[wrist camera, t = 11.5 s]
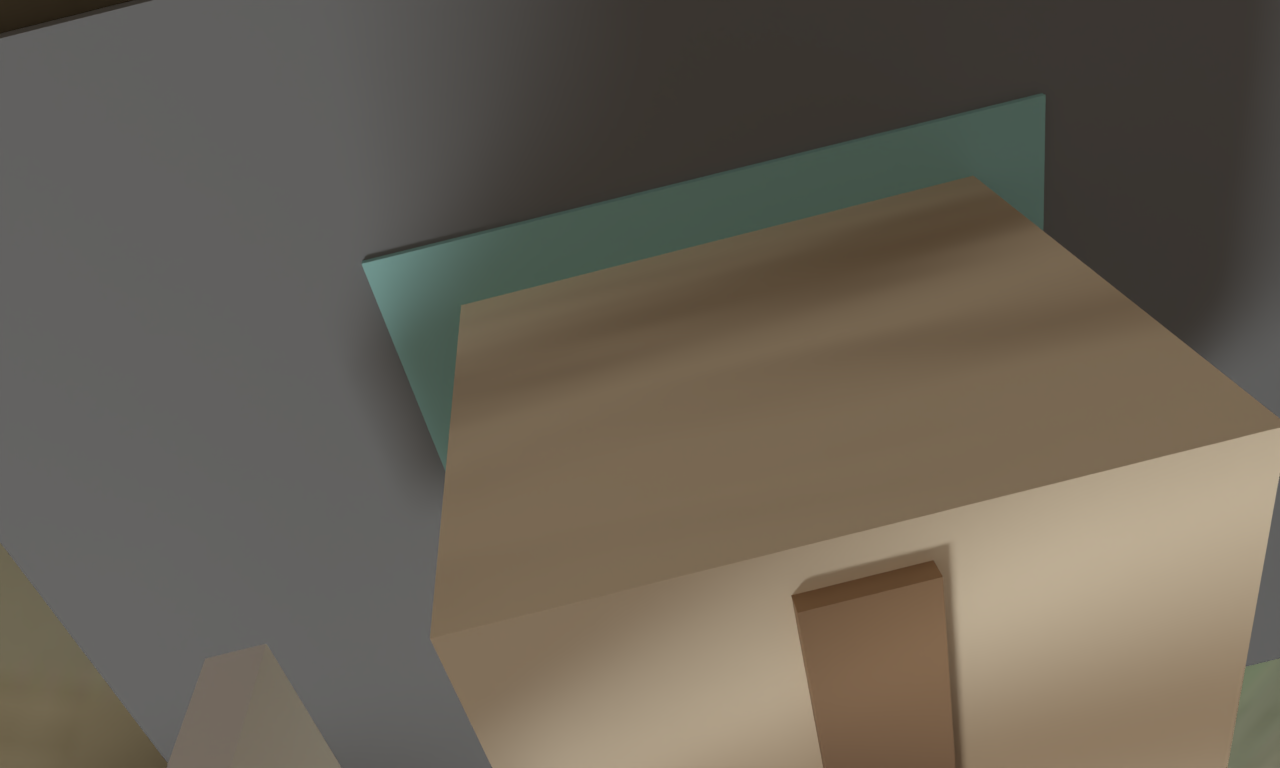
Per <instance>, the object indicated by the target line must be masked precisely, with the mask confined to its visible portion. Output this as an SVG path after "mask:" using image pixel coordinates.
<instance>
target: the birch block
mask: <svg viewBox="0 0 1280 768" xmlns="http://www.w3.org/2000/svg"><path fill="white" fill-rule="evenodd" d="M1279 476H1280V418H1279V417H1277V416H1276V415H1275V414H1274V413H1272V412H1271V411H1270V410H1268V409H1267V408H1266V407H1265V406H1263V405H1262V404H1261V403H1260V402H1258V401H1257V400H1256V399H1255V398H1253V397H1252V396H1251V395H1250V394H1248V393H1247V392H1246V391H1244V390H1243V389H1242V388H1241V387H1239V386H1238V385H1237V384H1236V383H1234V382H1233V381H1232V380H1231V379H1229V378H1228V377H1227V376H1226V375H1224V374H1223V373H1222V372H1221V371H1219V370H1218V369H1217V368H1215V367H1214V366H1213V365H1212V364H1210V363H1209V362H1208V361H1207V360H1205V359H1204V358H1203V357H1202V356H1200V355H1199V354H1198V353H1197V352H1195V351H1194V350H1193V349H1192V348H1190V347H1189V346H1188V345H1186V344H1185V343H1184V342H1183V341H1181V340H1180V339H1179V338H1178V337H1176V336H1175V335H1174V334H1173V333H1171V332H1170V331H1169V330H1168V329H1166V328H1165V327H1164V326H1163V325H1161V324H1160V323H1159V322H1157V321H1156V320H1155V319H1154V318H1152V317H1151V316H1150V315H1149V314H1147V313H1146V312H1145V311H1144V310H1142V309H1141V308H1140V307H1139V306H1137V305H1136V304H1135V303H1134V302H1132V301H1131V300H1130V299H1128V298H1127V297H1126V296H1125V295H1123V294H1122V293H1121V292H1120V291H1118V290H1117V289H1116V288H1115V287H1113V286H1112V285H1111V284H1110V283H1108V282H1107V281H1106V280H1104V279H1103V278H1102V277H1101V276H1099V275H1098V274H1097V273H1096V272H1094V271H1093V270H1092V269H1091V268H1089V267H1088V266H1087V265H1086V264H1084V263H1083V262H1082V261H1081V260H1079V259H1078V258H1077V257H1075V256H1074V255H1073V254H1072V253H1070V252H1069V251H1068V250H1067V249H1065V248H1064V247H1063V246H1062V245H1060V244H1059V243H1058V242H1057V241H1055V240H1054V239H1053V238H1052V237H1050V236H1049V235H1048V234H1046V233H1045V232H1044V231H1043V230H1041V229H1040V228H1039V227H1038V226H1036V225H1035V224H1034V223H1033V222H1031V221H1030V220H1029V219H1028V218H1026V217H1025V216H1024V215H1023V214H1021V213H1020V212H1019V211H1017V210H1016V209H1015V208H1014V207H1012V206H1011V205H1010V204H1009V203H1007V202H1006V201H1005V200H1004V199H1002V198H1001V197H1000V196H999V195H997V194H996V193H995V192H994V191H992V190H991V189H990V188H988V187H987V186H986V185H985V184H983V183H982V182H981V181H980V180H978V179H977V178H976V177H975V176H970V177H966V178H962V179H958V180H954V181H950V182H946V183H942V184H938V185H934V186H930V187H926V188H923V189H919V190H915V191H911V192H907V193H903V194H899V195H895V196H891V197H887V198H883V199H879V200H875V201H871V202H867V203H863V204H859V205H855V206H851V207H847V208H844V209H840V210H836V211H832V212H828V213H824V214H820V215H816V216H812V217H808V218H804V219H800V220H796V221H792V222H788V223H784V224H780V225H776V226H772V227H768V228H764V229H761V230H757V231H753V232H749V233H745V234H741V235H737V236H733V237H729V238H725V239H721V240H717V241H713V242H709V243H705V244H701V245H697V246H693V247H689V248H685V249H682V250H678V251H674V252H670V253H666V254H662V255H658V256H654V257H650V258H646V259H642V260H638V261H634V262H630V263H626V264H622V265H618V266H614V267H610V268H606V269H603V270H599V271H595V272H591V273H587V274H583V275H579V276H575V277H571V278H567V279H563V280H559V281H555V282H551V283H547V284H543V285H539V286H535V287H531V288H527V289H523V290H520V291H516V292H512V293H508V294H504V295H500V296H496V297H492V298H488V299H484V300H480V301H476V302H472V303H468V304H464V305H461V312H460V322H459V333H458V344H457V354H456V365H455V376H454V386H453V397H452V408H451V418H450V429H449V440H448V450H447V461H446V472H445V482H444V493H443V504H442V514H441V525H440V536H439V546H438V557H437V568H436V578H435V589H434V600H433V610H432V621H431V632H430V640H431V642H432V644H433V646H434V648H435V650H436V652H437V655H438V657H439V659H440V661H441V663H442V665H443V667H444V669H445V671H446V673H447V675H448V677H449V679H450V681H451V684H452V686H453V688H454V690H455V692H456V694H457V696H458V698H459V700H460V702H461V704H462V706H463V708H464V710H465V713H466V715H467V717H468V719H469V721H470V723H471V725H472V727H473V729H474V731H475V733H476V735H477V737H478V739H479V742H480V744H481V746H482V748H483V750H484V752H485V754H486V756H487V758H488V760H489V762H490V764H491V766H492V768H1227V767H1228V761H1229V755H1230V750H1231V744H1232V739H1233V733H1234V727H1235V722H1236V716H1237V711H1238V705H1239V699H1240V694H1241V688H1242V683H1243V677H1244V671H1245V666H1246V660H1247V655H1248V649H1249V643H1250V638H1251V632H1252V627H1253V621H1254V615H1255V610H1256V604H1257V599H1258V593H1259V587H1260V582H1261V576H1262V571H1263V565H1264V559H1265V554H1266V548H1267V543H1268V537H1269V532H1270V526H1271V520H1272V515H1273V509H1274V504H1275V498H1276V492H1277V487H1278V481H1279Z"/></svg>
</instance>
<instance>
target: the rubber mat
mask: <svg viewBox="0 0 1280 768" xmlns="http://www.w3.org/2000/svg"><path fill="white" fill-rule="evenodd" d="M970 176H975V177H976V178H977V179H978V180H980V181H981V182H982V183H983V184H985V185H986V186H987V187H988V188H990V189H991V190H992V191H994V192H995V193H996V194H997V195H999V196H1000V197H1001V198H1002V199H1004V200H1005V201H1006V202H1007V203H1009V204H1010V205H1011V206H1012V207H1014V208H1015V209H1016V210H1017V211H1019V212H1020V213H1021V214H1023V215H1024V216H1025V217H1026V218H1028V219H1029V220H1030V221H1031V222H1033V223H1034V224H1035V225H1036V226H1038V227H1039V228H1040V229H1041V230H1043V231H1044V232H1045V233H1046V234H1048V235H1049V236H1050V237H1052V238H1053V239H1054V240H1055V241H1057V242H1058V243H1059V244H1060V245H1062V246H1063V247H1064V248H1065V249H1067V250H1068V251H1069V252H1070V253H1072V254H1073V255H1074V256H1075V257H1077V258H1078V259H1079V260H1081V261H1082V262H1083V263H1084V264H1086V265H1087V266H1088V267H1089V268H1091V269H1092V270H1093V271H1094V272H1096V273H1097V274H1098V275H1099V276H1101V277H1102V278H1103V279H1104V280H1106V281H1107V282H1108V283H1110V284H1111V285H1112V286H1113V287H1115V288H1116V289H1117V290H1118V291H1120V292H1121V293H1122V294H1123V295H1125V296H1126V297H1127V298H1128V299H1130V300H1131V301H1132V302H1134V303H1135V304H1136V305H1137V306H1139V307H1140V308H1141V309H1142V310H1144V311H1145V312H1146V313H1147V314H1149V315H1150V316H1151V317H1152V318H1154V319H1155V320H1156V321H1157V322H1159V323H1160V324H1161V325H1163V326H1164V327H1165V328H1166V329H1168V330H1169V331H1170V332H1171V333H1173V334H1174V335H1175V336H1176V337H1178V338H1179V339H1180V340H1181V341H1183V342H1184V343H1185V344H1186V345H1188V346H1189V347H1190V348H1192V349H1193V350H1194V351H1195V352H1197V353H1198V354H1199V355H1200V356H1202V357H1203V358H1204V359H1205V360H1207V361H1208V362H1209V363H1210V364H1212V365H1213V366H1214V367H1215V368H1217V369H1218V370H1219V371H1221V372H1222V373H1223V374H1224V375H1226V376H1227V377H1228V378H1229V379H1231V380H1232V381H1233V382H1234V383H1236V384H1237V385H1238V386H1239V387H1241V388H1242V389H1243V390H1244V391H1246V392H1247V393H1248V394H1250V395H1251V396H1252V397H1253V398H1255V399H1256V400H1257V401H1258V402H1260V403H1261V404H1262V405H1263V406H1265V407H1266V408H1267V409H1268V410H1270V411H1271V412H1272V413H1274V414H1275V415H1276V416H1277V417H1279V418H1280V0H133V1H129V2H125V3H121V4H117V5H113V6H109V7H105V8H101V9H97V10H93V11H89V12H85V13H81V14H77V15H73V16H69V17H65V18H61V19H57V20H53V21H49V22H45V23H41V24H37V25H33V26H29V27H25V28H21V29H17V30H13V31H9V32H5V33H1V34H0V543H1V544H2V545H3V547H4V548H5V549H6V551H7V552H8V553H9V554H10V556H11V557H12V558H13V560H14V561H15V562H16V564H17V565H18V566H19V568H20V569H21V570H22V572H23V573H24V574H25V576H26V577H27V578H28V580H29V581H30V582H31V583H32V585H33V586H34V587H35V589H36V590H37V591H38V593H39V594H40V595H41V597H42V598H43V599H44V601H45V602H46V603H47V605H48V606H49V607H50V609H51V610H52V611H53V613H54V614H55V615H56V616H57V618H58V619H59V620H60V622H61V623H62V624H63V626H64V627H65V628H66V630H67V631H68V632H69V634H70V635H71V636H72V638H73V639H74V640H75V642H76V643H77V644H78V645H79V647H80V648H81V649H82V651H83V652H84V653H85V655H86V656H87V657H88V659H89V660H90V661H91V663H92V664H93V665H94V667H95V668H96V669H97V671H98V672H99V673H100V674H101V676H102V677H103V678H104V680H105V681H106V682H107V684H108V685H109V686H110V688H111V689H112V690H113V692H114V693H115V694H116V696H117V697H118V698H119V700H120V701H121V702H122V704H123V705H124V706H125V707H126V709H127V710H128V711H129V713H130V714H131V715H132V717H133V718H134V719H135V721H136V722H137V723H138V725H139V726H140V727H141V729H142V730H143V731H144V733H145V734H146V735H147V736H148V738H149V739H150V740H151V742H152V743H153V744H154V746H155V747H156V748H157V750H158V751H159V752H160V754H161V755H162V756H163V758H164V759H165V760H166V762H167V763H168V762H169V760H170V757H171V754H172V751H173V748H174V745H175V743H176V740H177V737H178V734H179V731H180V729H181V726H182V723H183V720H184V717H185V714H186V712H187V709H188V706H189V703H190V700H191V698H192V695H193V692H194V689H195V686H196V683H197V681H198V678H199V675H200V672H201V669H202V667H203V664H204V661H205V658H210V657H214V656H218V655H222V654H226V653H230V652H234V651H238V650H242V649H247V648H251V647H255V646H259V645H263V644H267V645H268V647H269V649H270V650H271V652H272V654H273V655H274V657H275V659H276V660H277V662H278V664H279V665H280V667H281V668H282V670H283V672H284V673H285V675H286V677H287V678H288V680H289V682H290V683H291V685H292V687H293V688H294V690H295V692H296V693H297V695H298V697H299V698H300V700H301V702H302V703H303V705H304V706H305V708H306V710H307V711H308V713H309V715H310V716H311V718H312V720H313V721H314V723H315V725H316V726H317V728H318V730H319V731H320V733H321V735H322V736H323V738H324V740H325V741H326V743H327V744H328V746H329V748H330V749H331V751H332V753H333V754H334V756H335V758H336V759H337V761H338V763H339V764H340V766H341V768H492V766H491V764H490V762H489V760H488V758H487V756H486V754H485V752H484V750H483V748H482V746H481V744H480V742H479V739H478V737H477V735H476V733H475V731H474V729H473V727H472V725H471V723H470V721H469V719H468V717H467V715H466V713H465V710H464V708H463V706H462V704H461V702H460V700H459V698H458V696H457V694H456V692H455V690H454V688H453V686H452V684H451V681H450V679H449V677H448V675H447V673H446V671H445V669H444V667H443V665H442V663H441V661H440V659H439V657H438V655H437V652H436V650H435V648H434V646H433V644H432V642H431V640H430V632H431V621H432V610H433V600H434V589H435V578H436V568H437V557H438V546H439V536H440V525H441V514H442V504H443V493H444V482H445V472H446V461H447V450H448V440H449V429H450V418H451V408H452V397H453V386H454V376H455V365H456V354H457V344H458V333H459V322H460V312H461V305H464V304H468V303H472V302H476V301H480V300H484V299H488V298H492V297H496V296H500V295H504V294H508V293H512V292H516V291H520V290H523V289H527V288H531V287H535V286H539V285H543V284H547V283H551V282H555V281H559V280H563V279H567V278H571V277H575V276H579V275H583V274H587V273H591V272H595V271H599V270H603V269H606V268H610V267H614V266H618V265H622V264H626V263H630V262H634V261H638V260H642V259H646V258H650V257H654V256H658V255H662V254H666V253H670V252H674V251H678V250H682V249H685V248H689V247H693V246H697V245H701V244H705V243H709V242H713V241H717V240H721V239H725V238H729V237H733V236H737V235H741V234H745V233H749V232H753V231H757V230H761V229H764V228H768V227H772V226H776V225H780V224H784V223H788V222H792V221H796V220H800V219H804V218H808V217H812V216H816V215H820V214H824V213H828V212H832V211H836V210H840V209H844V208H847V207H851V206H855V205H859V204H863V203H867V202H871V201H875V200H879V199H883V198H887V197H891V196H895V195H899V194H903V193H907V192H911V191H915V190H919V189H923V188H926V187H930V186H934V185H938V184H942V183H946V182H950V181H954V180H958V179H962V178H966V177H970ZM1279 658H1280V476H1279V481H1278V487H1277V492H1276V498H1275V504H1274V509H1273V515H1272V520H1271V526H1270V532H1269V537H1268V543H1267V548H1266V554H1265V559H1264V565H1263V571H1262V576H1261V582H1260V587H1259V593H1258V599H1257V604H1256V610H1255V615H1254V621H1253V627H1252V632H1251V638H1250V643H1249V649H1248V655H1247V660H1246V666H1249V665H1254V664H1258V663H1262V662H1266V661H1270V660H1274V659H1279Z"/></svg>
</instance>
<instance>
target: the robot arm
mask: <svg viewBox="0 0 1280 768" xmlns="http://www.w3.org/2000/svg"><path fill="white" fill-rule="evenodd" d="M167 768H341V766H340V764H339V763H338V761H337V759H336V758H335V756H334V754H333V753H332V751H331V749H330V748H329V746H328V744H327V743H326V741H325V740H324V738H323V736H322V735H321V733H320V731H319V730H318V728H317V726H316V725H315V723H314V721H313V720H312V718H311V716H310V715H309V713H308V711H307V710H306V708H305V706H304V705H303V703H302V702H301V700H300V698H299V697H298V695H297V693H296V692H295V690H294V688H293V687H292V685H291V683H290V682H289V680H288V678H287V677H286V675H285V673H284V672H283V670H282V668H281V667H280V665H279V664H278V662H277V660H276V659H275V657H274V655H273V654H272V652H271V650H270V649H269V647H268V645H267V644H263V645H259V646H255V647H251V648H247V649H242V650H238V651H234V652H230V653H226V654H222V655H218V656H214V657H210V658H205V661H204V664H203V667H202V669H201V672H200V675H199V678H198V681H197V683H196V686H195V689H194V692H193V695H192V698H191V700H190V703H189V706H188V709H187V712H186V714H185V717H184V720H183V723H182V726H181V729H180V731H179V734H178V737H177V740H176V743H175V745H174V748H173V751H172V754H171V757H170V760H169V762H168V765H167Z"/></svg>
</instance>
